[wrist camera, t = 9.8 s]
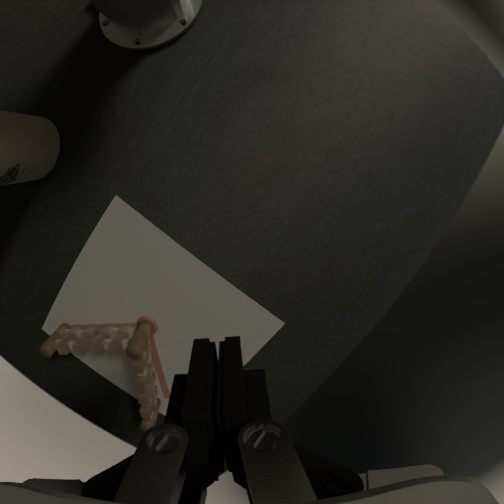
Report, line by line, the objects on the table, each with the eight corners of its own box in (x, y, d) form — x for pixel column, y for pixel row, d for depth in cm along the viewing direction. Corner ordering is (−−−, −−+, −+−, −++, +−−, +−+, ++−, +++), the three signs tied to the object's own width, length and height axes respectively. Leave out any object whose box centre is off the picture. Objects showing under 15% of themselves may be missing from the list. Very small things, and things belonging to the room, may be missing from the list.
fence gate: (140, 334, 38) (127, 360, 32) (153, 336, 38) (142, 362, 32) (149, 404, 41) (141, 432, 36) (161, 406, 41) (154, 434, 36)
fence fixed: (63, 333, 38) (42, 357, 32) (59, 322, 38) (37, 345, 32) (155, 330, 39) (143, 359, 32) (152, 318, 38) (139, 345, 32)
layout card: (42, 328, 38) (41, 328, 38) (116, 195, 34) (115, 195, 34) (181, 423, 43) (181, 424, 43) (284, 323, 39) (284, 323, 39)
